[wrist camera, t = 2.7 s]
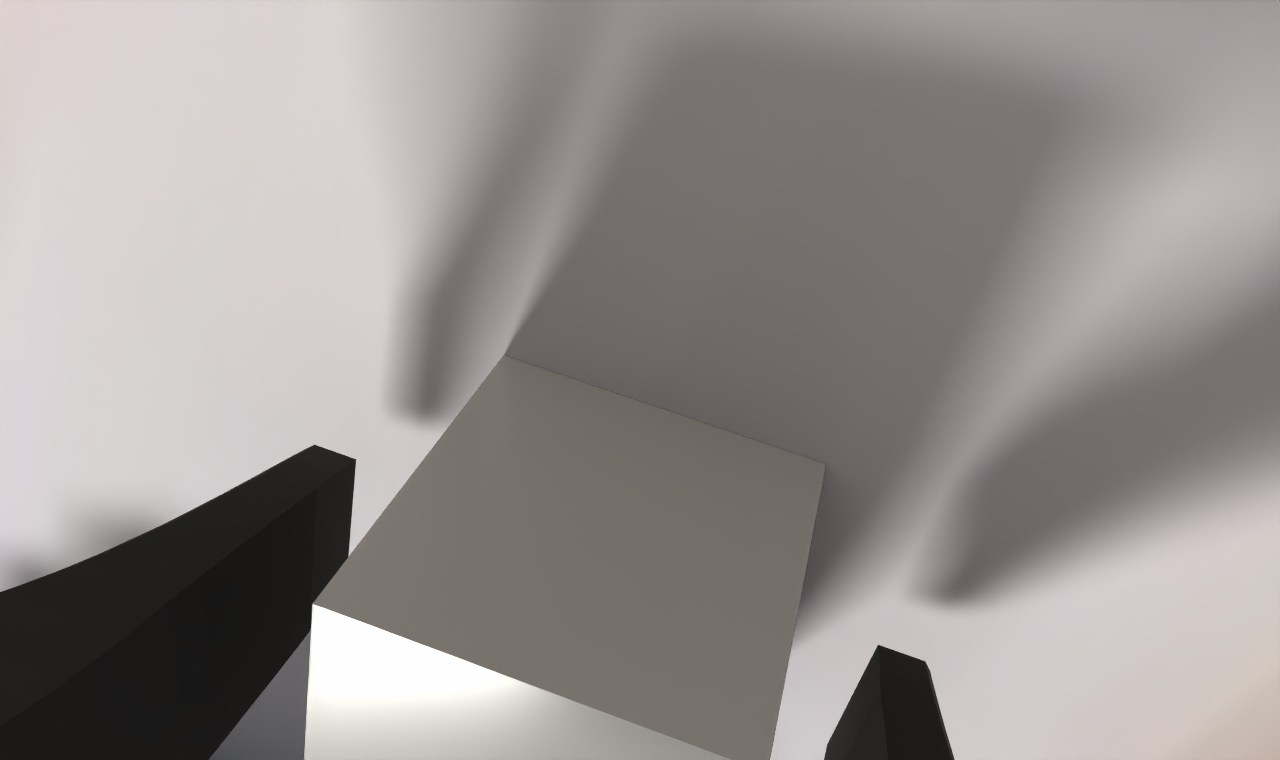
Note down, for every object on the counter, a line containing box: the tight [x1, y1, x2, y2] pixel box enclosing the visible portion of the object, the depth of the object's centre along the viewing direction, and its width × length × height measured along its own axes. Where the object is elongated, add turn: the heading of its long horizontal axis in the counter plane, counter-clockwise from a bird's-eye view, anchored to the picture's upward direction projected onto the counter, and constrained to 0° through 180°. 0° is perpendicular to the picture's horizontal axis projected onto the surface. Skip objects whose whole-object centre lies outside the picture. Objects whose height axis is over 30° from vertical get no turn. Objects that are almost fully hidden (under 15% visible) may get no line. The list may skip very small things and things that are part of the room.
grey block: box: [304, 356, 826, 760], centre depth 13 cm, size 4×4×5 cm
